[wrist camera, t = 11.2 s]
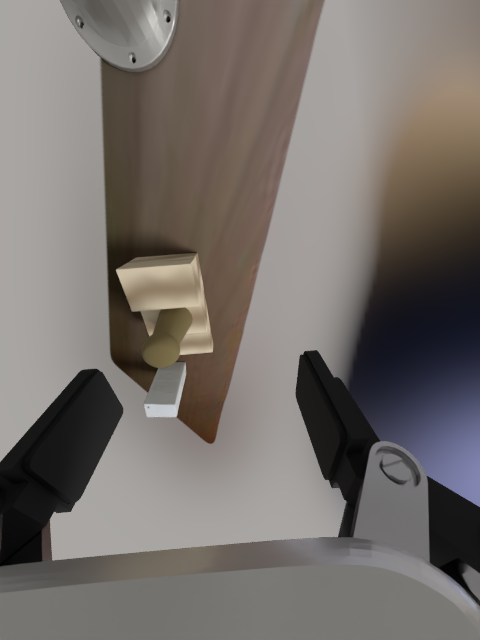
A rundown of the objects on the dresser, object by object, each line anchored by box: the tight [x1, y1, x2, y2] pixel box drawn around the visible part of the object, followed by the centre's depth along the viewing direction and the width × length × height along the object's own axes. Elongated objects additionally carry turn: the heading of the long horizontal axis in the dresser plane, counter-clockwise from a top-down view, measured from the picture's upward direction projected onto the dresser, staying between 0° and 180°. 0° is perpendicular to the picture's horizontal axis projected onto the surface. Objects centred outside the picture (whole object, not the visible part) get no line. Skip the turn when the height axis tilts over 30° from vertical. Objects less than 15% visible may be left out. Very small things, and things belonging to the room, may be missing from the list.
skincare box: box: [144, 362, 186, 417], centre depth 44 cm, size 6×4×12 cm
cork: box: [141, 307, 193, 368], centre depth 32 cm, size 6×6×11 cm
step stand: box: [116, 253, 213, 355], centre depth 38 cm, size 21×11×8 cm, turn 4°
